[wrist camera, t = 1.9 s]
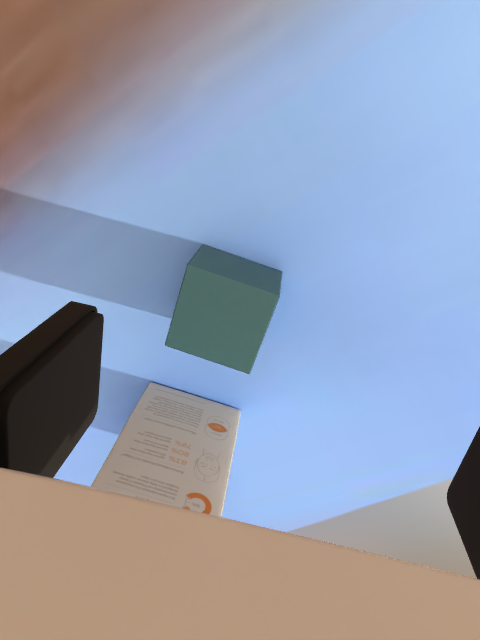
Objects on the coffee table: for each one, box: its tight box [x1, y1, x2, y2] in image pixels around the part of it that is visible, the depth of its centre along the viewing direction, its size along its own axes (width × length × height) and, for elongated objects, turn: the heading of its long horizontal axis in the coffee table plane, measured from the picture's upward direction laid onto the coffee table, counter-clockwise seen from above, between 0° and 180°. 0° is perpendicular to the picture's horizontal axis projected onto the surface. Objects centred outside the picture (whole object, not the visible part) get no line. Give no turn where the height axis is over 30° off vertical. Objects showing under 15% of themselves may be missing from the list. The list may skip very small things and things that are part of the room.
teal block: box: [165, 245, 282, 374], centre depth 31 cm, size 6×6×5 cm
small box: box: [91, 382, 240, 517], centre depth 33 cm, size 8×6×13 cm
